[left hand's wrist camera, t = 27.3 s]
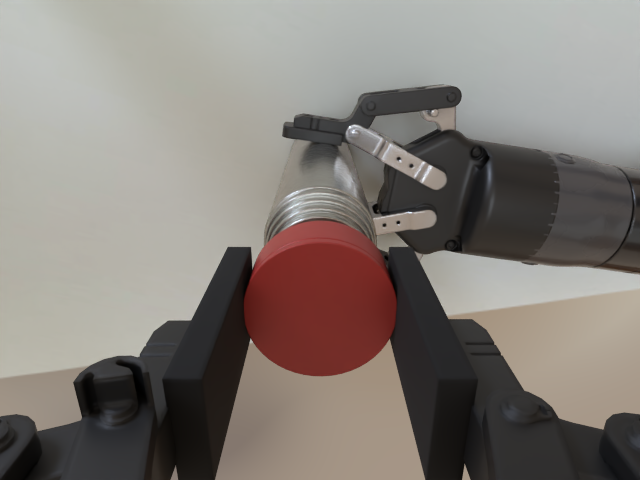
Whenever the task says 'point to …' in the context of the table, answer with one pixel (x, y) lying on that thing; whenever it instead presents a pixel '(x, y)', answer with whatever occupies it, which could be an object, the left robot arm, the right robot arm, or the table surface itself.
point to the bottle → (320, 191)
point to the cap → (320, 299)
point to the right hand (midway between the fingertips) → (280, 170)
